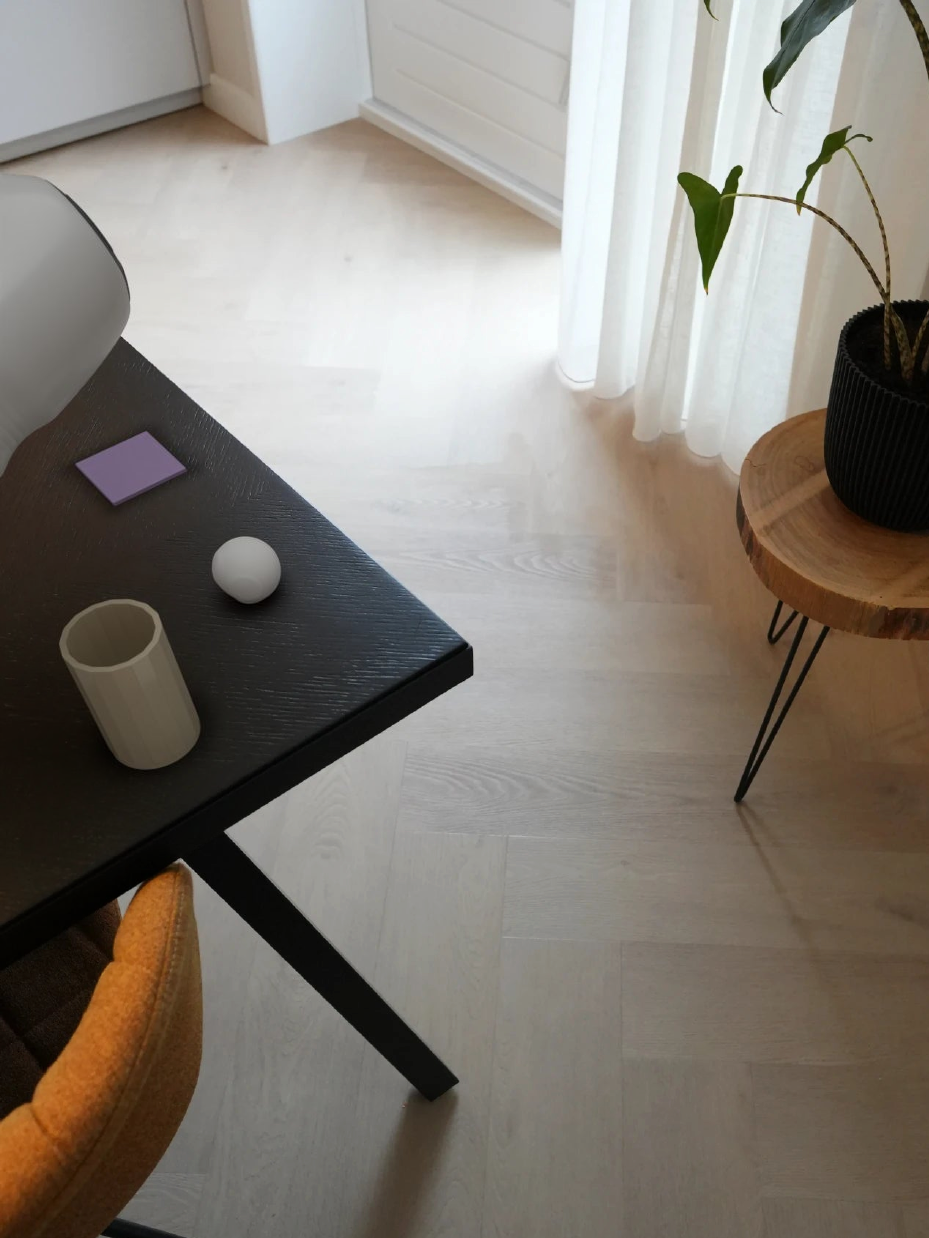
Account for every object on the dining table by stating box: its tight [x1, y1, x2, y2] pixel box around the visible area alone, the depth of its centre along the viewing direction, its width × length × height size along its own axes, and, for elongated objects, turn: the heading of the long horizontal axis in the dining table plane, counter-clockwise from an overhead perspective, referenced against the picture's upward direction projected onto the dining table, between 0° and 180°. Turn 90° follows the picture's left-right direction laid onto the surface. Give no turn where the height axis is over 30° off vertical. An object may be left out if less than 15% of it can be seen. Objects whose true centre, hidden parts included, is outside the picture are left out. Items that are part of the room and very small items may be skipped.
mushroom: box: [211, 536, 282, 605], centre depth 83 cm, size 5×5×5 cm
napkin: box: [75, 430, 188, 507], centre depth 94 cm, size 7×7×1 cm
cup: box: [58, 598, 202, 770], centre depth 73 cm, size 6×6×10 cm
